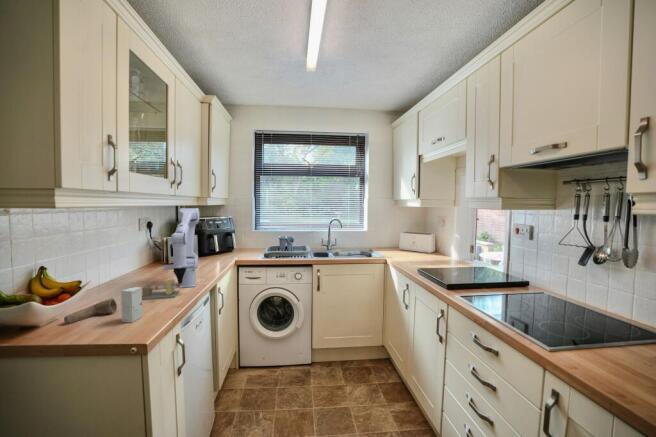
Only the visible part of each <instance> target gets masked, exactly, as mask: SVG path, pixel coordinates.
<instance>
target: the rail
mask: <svg viewBox="0 0 656 437" xmlns="http://www.w3.org/2000/svg"><path fill="white" fill-rule="evenodd" d="M174 288H175V289H177V284H175V285H172V289H174ZM154 290H155V291H154ZM158 290H164V291H158ZM179 293H180V290H175V291H174V292H173V293H172V294H169V295H166V284H165V285H152V284H146V285H144V286H143V287H142V301H146V300H160V299H161V300H163V299H173V298H174V299H175V298H176V297H177V296H178V295H179Z"/></svg>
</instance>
